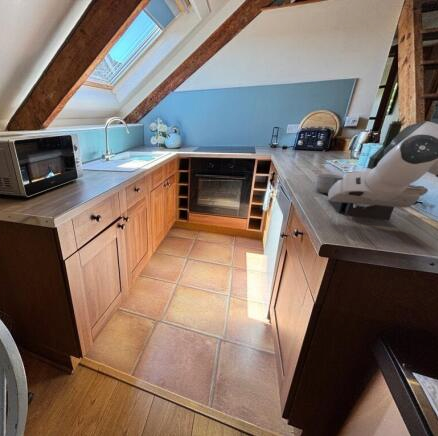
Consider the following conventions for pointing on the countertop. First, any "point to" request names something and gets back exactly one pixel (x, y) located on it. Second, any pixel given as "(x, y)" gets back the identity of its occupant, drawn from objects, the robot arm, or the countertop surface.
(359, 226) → the countertop surface
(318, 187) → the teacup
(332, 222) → the countertop surface
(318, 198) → the countertop surface
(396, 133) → the wine bottle
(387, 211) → the drawer
